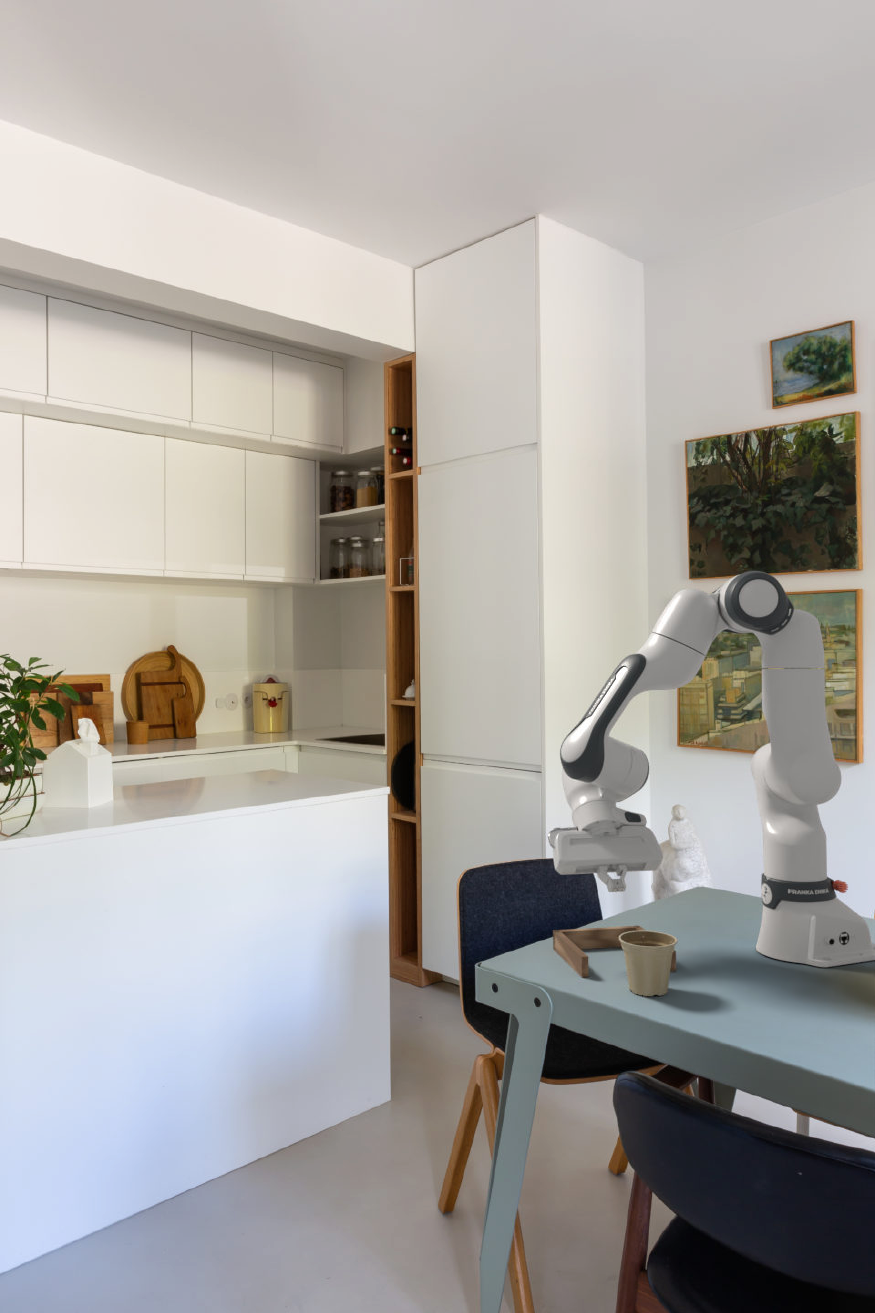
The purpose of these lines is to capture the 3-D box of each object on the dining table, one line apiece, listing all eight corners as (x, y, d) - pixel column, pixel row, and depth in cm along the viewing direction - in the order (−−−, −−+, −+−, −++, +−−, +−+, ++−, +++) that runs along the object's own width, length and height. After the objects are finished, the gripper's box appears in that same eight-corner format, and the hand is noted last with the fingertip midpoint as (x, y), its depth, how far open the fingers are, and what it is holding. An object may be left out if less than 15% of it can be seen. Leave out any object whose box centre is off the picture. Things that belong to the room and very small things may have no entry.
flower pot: (679, 1002, 147) (679, 947, 147) (619, 999, 149) (618, 945, 149) (676, 983, 156) (675, 931, 156) (619, 980, 158) (618, 929, 158)
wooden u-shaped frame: (639, 943, 179) (638, 925, 179) (676, 971, 162) (675, 951, 162) (553, 949, 176) (553, 930, 176) (581, 977, 159) (581, 957, 159)
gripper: (549, 818, 172) (565, 883, 162) (653, 815, 176) (675, 878, 166) (542, 838, 176) (558, 902, 167) (643, 834, 180) (665, 897, 170)
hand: (617, 890), depth 166 cm, fingers closed
